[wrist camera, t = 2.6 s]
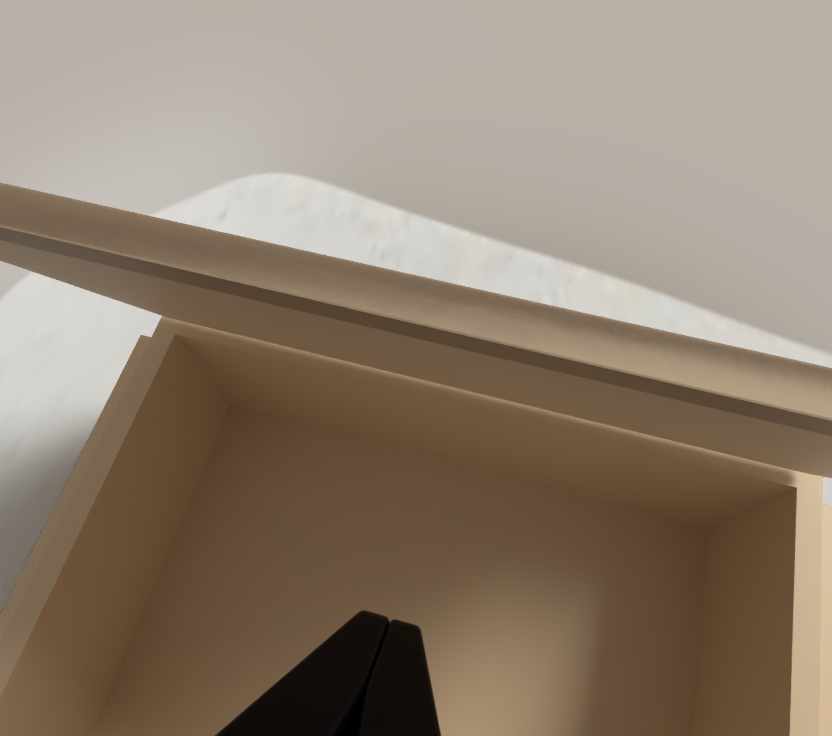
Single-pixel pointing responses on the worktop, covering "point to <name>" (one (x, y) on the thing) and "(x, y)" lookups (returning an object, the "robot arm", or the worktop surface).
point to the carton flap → (433, 330)
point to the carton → (410, 558)
